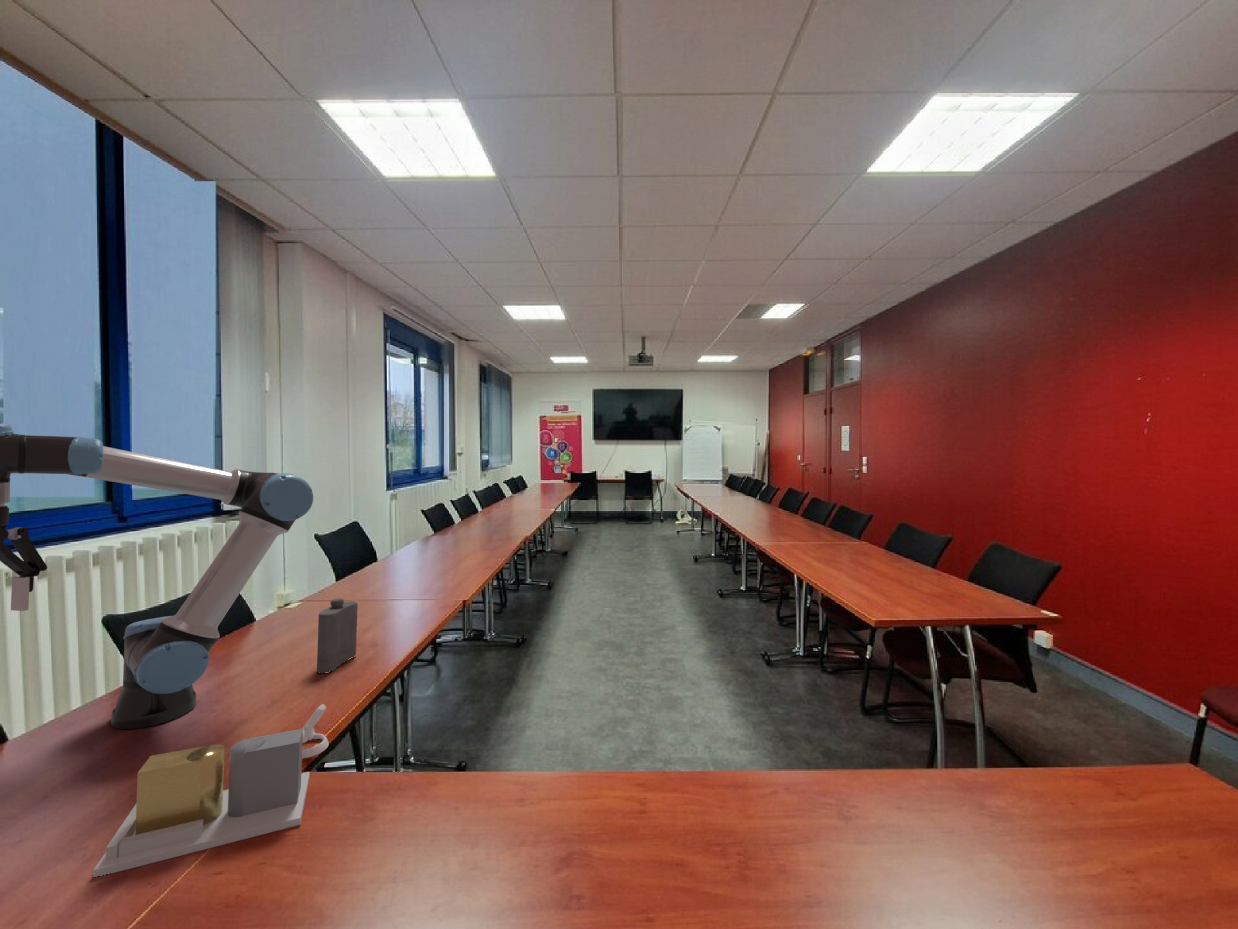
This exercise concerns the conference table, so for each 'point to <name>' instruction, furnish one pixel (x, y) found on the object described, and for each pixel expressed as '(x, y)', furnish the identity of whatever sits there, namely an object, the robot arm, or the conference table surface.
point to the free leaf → (180, 788)
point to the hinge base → (226, 806)
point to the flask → (336, 634)
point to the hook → (310, 734)
